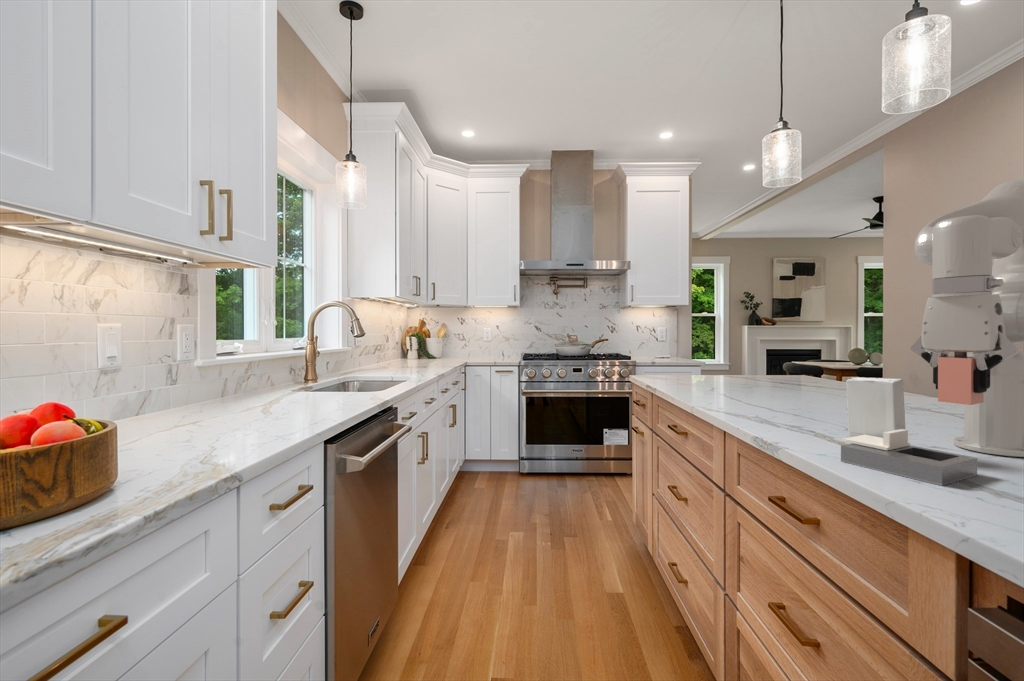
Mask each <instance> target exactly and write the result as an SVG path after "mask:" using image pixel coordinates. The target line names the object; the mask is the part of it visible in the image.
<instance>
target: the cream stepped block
mask: <svg viewBox="0 0 1024 681" xmlns="http://www.w3.org/2000/svg"><path fill="white" fill-rule="evenodd" d="M908 431H909V430H908V429H906V430H904V429H899V430H893V431H888V432H883V438H880V437H875V436H870V435H860V436H855V437H849V436H848V437H843V438H841V439H842V440H841V441H842V442H844V443H847V444H849V443H853V444H858V445H863V446H868V447H873V448H878V449H882V450H892V449H896V448H901V447H906V446H910V445H911V444H910V442H909V440H908V439H909V435H908V434H909V432H908Z"/></svg>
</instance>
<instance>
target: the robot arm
mask: <svg viewBox="0 0 1024 681" xmlns="http://www.w3.org/2000/svg"><path fill="white" fill-rule="evenodd" d="M913 249H914V254H915V257H916V258H917V259H918V261H919V262H920V263H922V264H924V265H928V266H932V268H931V270H932V273H931V274H932V275H931V277H932V281H931V284H932V285H931V286H932V287H931V288H932V290H931V294H932V296H931V297H928V298H927V300H926V304H925V307H924V311H923V312H924V313H923V318H922V326H921V335H920V336H919V337H918V339H917V340H916V341H915V342H914V343H913V344H912V345H911V346H910V350H911V351H912V352H914V354H917V355H918V356H921V358H922V359H924V360H925V362H927V363H928V364H929V366H930V367H931V368H932V372H933V373H932V383H933V384H934V385H935V390H938V357H946V356H949V354H950V352H953V353H954V352H967V357H974V358H975V361H976V365H977V367H976V370H974V372H973V391H974V392H975V393H983V392H984V402H983V403H978V404H974V405H966V404H963V406H964V409H963V410H964V412H963V415H964V416H963V419H964V420H963V429H964V430H963V436H956V437H954V438H953V445H955V446H957V447H958V448H962V449H965V450H969V451H973V452H978V453H984V454H990V455H997V456H1006V457H1015V458H1017V457H1018V458H1024V352H1023V351H1022V349H1020V348H1019V347H1018V346H1017V345H1015V343H1021V342H1022V343H1024V177H1020V178H1015V179H1011V180H1008V181H1006V182H1002V183H1001V184H998V185H997V186H995V187H994V188H993V189H991V191H990V192H988V193H987V194H986V195H985V196H984V197H983V198H982V199H981V200H980V201H977V202H974V203H971V204H969V205H966V206H963V207H961V208H958V209H957V210H954V211H951V212H948V213H945V214H943V215H940V216H938V217H936V218H934V219H932V220H931V221H929V222H928V223H927V224H926V225H925V226H923V228H922V229H921V230H920V231H919V233H918V234H917V237H915V241H914V247H913Z"/></svg>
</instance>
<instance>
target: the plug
mask: <svg viewBox="0 0 1024 681" xmlns="http://www.w3.org/2000/svg"><path fill="white" fill-rule="evenodd" d="M953 353H954V355H948V356H946V357H938V389H937V402H940V403H950V404H959V405H964V404H966V405H974V404H978V403H983V402H984V392H983V393H975V392H974V391H973V372H974V370H976V367H977V365H976V361H975V358H974V357H967V352H953Z"/></svg>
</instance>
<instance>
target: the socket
mask: <svg viewBox="0 0 1024 681" xmlns="http://www.w3.org/2000/svg"><path fill="white" fill-rule="evenodd" d="M841 461H842V463H847V464H849V465H854V464H855V466H859V467H862V466H863V467H862V468H866V467H867V468H866V469H871V470H875V471H878V470H879V472H883V473H887V474H892V475H895V474H896V476H899V475H900V476H899V477H903V476H904V477H905V478H907V477H908V479H911V478H912V480H915V479H917V480H916V481H920V482H923V483H928V484H933V485H937V486H939V487H940V486H941V487H943V486H946V484H947V485H949V483H950V484H953V482H954V483H957V482H960V481H963V479H964V480H966V478H967V479H971V478H973V476H974V477H977V476H978V457H974V456H968V455H965V454H964V455H963V454H958V453H953V452H948V451H942V450H939V449H938V450H936V449H931V448H926V447H920V446H916V445H911V444H910V446H906V447H901V448H896V449H892V450H882V449H878V448H873V447H868V446H863V445H858V444H853V443H852V444H849V443H847V444H842V445H840V462H841ZM970 477H971V478H970ZM959 480H960V481H959ZM956 481H957V482H956Z"/></svg>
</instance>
